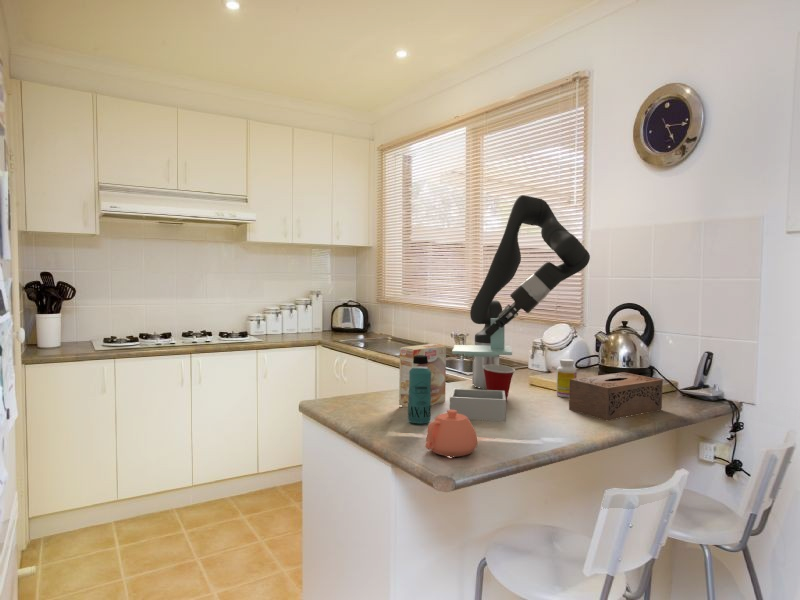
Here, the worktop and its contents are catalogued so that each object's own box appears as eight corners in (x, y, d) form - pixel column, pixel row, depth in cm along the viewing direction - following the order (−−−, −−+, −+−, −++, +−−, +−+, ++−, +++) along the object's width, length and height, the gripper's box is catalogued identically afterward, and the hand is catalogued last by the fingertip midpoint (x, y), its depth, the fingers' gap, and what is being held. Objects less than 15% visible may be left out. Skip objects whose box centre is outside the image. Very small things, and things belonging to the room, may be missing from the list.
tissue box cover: (622, 401, 180) (623, 372, 180) (661, 410, 168) (662, 379, 167) (569, 410, 168) (569, 379, 167) (606, 421, 155) (607, 388, 155)
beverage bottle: (404, 423, 150) (404, 354, 149) (425, 421, 153) (425, 353, 152) (413, 430, 144) (414, 357, 143) (435, 427, 147) (436, 356, 146)
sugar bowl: (488, 454, 126) (488, 412, 125) (442, 466, 118) (443, 421, 117) (454, 440, 136) (454, 401, 135) (410, 451, 128) (410, 409, 127)
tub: (449, 421, 153) (449, 397, 153) (452, 410, 165) (452, 388, 165) (505, 424, 151) (505, 399, 150) (504, 413, 163) (504, 390, 162)
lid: (451, 357, 152) (452, 320, 151) (454, 350, 165) (455, 316, 164) (512, 358, 149) (512, 320, 149) (510, 351, 162) (510, 316, 161)
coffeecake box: (413, 411, 164) (413, 349, 163) (398, 407, 169) (398, 346, 168) (446, 404, 174) (447, 345, 173) (431, 399, 179) (431, 343, 178)
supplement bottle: (577, 398, 182) (578, 361, 181) (557, 397, 183) (558, 361, 183) (574, 394, 189) (575, 358, 188) (555, 393, 190) (556, 358, 189)
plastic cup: (508, 408, 169) (508, 371, 168) (476, 403, 174) (477, 367, 174) (519, 401, 178) (520, 366, 177) (489, 397, 184) (489, 362, 183)
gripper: (519, 283, 161) (478, 322, 163) (522, 284, 147) (477, 327, 150) (537, 301, 160) (495, 340, 163) (541, 304, 147) (496, 346, 149)
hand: (487, 333), depth 156 cm, fingers closed on lid, 1 cm apart
